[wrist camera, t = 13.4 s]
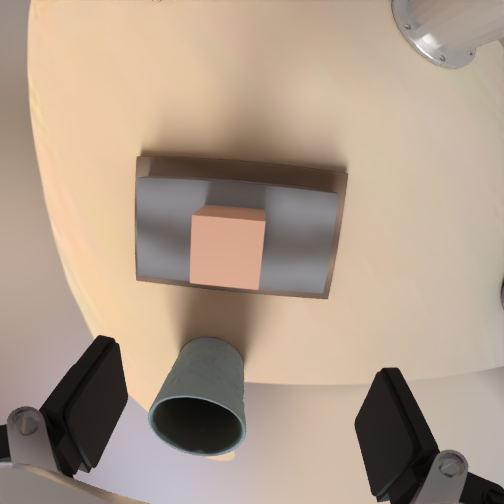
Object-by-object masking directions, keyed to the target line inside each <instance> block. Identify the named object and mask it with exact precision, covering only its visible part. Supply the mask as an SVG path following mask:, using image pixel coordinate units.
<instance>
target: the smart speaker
mask: <svg viewBox="0 0 504 504" xmlns="http://www.w3.org/2000/svg"><path fill="white" fill-rule="evenodd" d="M501 303H502V307H503V310H504V286H503V289H502V295H501Z"/></svg>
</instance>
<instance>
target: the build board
mask: <svg viewBox="0 0 504 504" xmlns="http://www.w3.org/2000/svg"><path fill="white" fill-rule="evenodd" d="M347 179H348V174H347V173H341V172H334V171H327V170H320V169H313V168H305V167H297V166H288V165H279V164H270V163H259V162H248V161H236V160H222V159H205V158H184V157H137V160H136V182H135V261H136V280H137V281H144V282H152V283H160V284H168V285H177V286H186V287H195V288H204V289H213V290H223V291H233V292H243V293H254V294H265V295H277V296H289V297H302V298H316V299H328V296H329V291H330V286H331V281H332V276H333V270H334V265H335V259H336V253H337V248H338V242H339V235H340V229H341V223H342V216H343V209H344V202H345V194H346V187H347ZM204 205H218V206H230V207H242V208H253V209H263V210H265V221H266V222H265V232H264V242H263V251H262V261H261V270H260V280H259V289H258V290H253V289H243V288H232V287H222V286H213V285H203V284H194V283H190V253H191V226H192V215H193V214H194V213H195V212H196V211H198V210H199V209H200V208H201V207H202V206H204Z"/></svg>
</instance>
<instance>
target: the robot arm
mask: <svg viewBox="0 0 504 504" xmlns="http://www.w3.org/2000/svg"><path fill="white" fill-rule="evenodd" d="M392 11H393V15H394V19H395V21H396V23H397V26H398V28H399V29H400V31H401V33H402V34H403V36H404V37H405V38H406V40H407V41H408V42H409V43H410V45H411V46H412V47H413V48H414V49H415V50H416V51H417V52H419V53H420V54H421V55H422V56H424V57H425V58H426V59H428V60H430V61H431V62H433V63H435V64H437V65H439V66H442V67H446V68H454V69H456V68H460V67H463V66H466V65H468V64H469V63H470V62H471V61H472V60H473V59H474V57H475V53H476V48H477V47H480V46H482V45H485V44H487V43H490V42H493V41H495V40H498V39H501V38H504V0H393V2H392ZM127 400H128V392H127V387H126V382H125V377H124V371H123V366H122V359H121V353H120V347H119V344H118V343H116V342H115V339H114V338H111V337H106V336H102V335H99V336H97V338H96V339H95V340H94V341H93V343H92V344H91V345H90V346H89V348H88V349H87V350H86V351H85V352H84V354H83V355H82V356H81V358H80V359H79V360H78V361H77V363H76V364H74V365H73V366H72V367H71V368H70V369H69V371H68V372H67V373H66V375H65V376H64V377H63V379H62V380H61V381H60V383H59V384H58V385H57V386H56V388H55V389H54V390H53V392H52V393H51V395H50V396H49V397H48V398H47V400H46V401H45V403H44V404H43V405H42V407H41V408H40V409H39V410H37V409H35V408H33V407H29V406H28V407H27V406H25V407H20V408H17V409H15V410H14V411H12V412H11V413H10V415H9V416H8V419H7V424H5V425H0V504H149V503H145V502H141V501H138V500H134V499H131V498H128V497H124V496H121V495H118V494H115V493H112V492H108V491H105V490H103V489H100V488H97V487H94V486H91V485H89V484H86V483H83V482H81V481H78V480H77V479H76V477H75V474H76V473H77V471H78V469H79V470H81V471H84V472H86V473H89V472H90V470H91V468H92V467H93V468H95V467H96V466H97V465H98V462H99V460H100V458H101V456H102V454H103V451H104V449H105V447H106V445H107V443H108V441H109V439H110V437H111V434H112V432H113V430H114V428H115V426H116V424H117V422H118V420H119V418H120V415H121V414H122V412H123V410H124V407H125V406H126V403H127ZM355 430H356V434H357V438H358V441H359V445H360V449H361V453H362V456H363V460H364V464H365V468H366V472H367V476H368V480H369V484H370V489H371V493H372V495H373V496H376V498H377V502H383V501H388V500H390V503H391V504H504V489H503V488H502V487H501V486H500V485H498V484H496V483H493V482H491V481H488V480H486V479H484V478H481V477H479V476H477V475H474V474H472V473H470V472H468V463H467V460H466V459H465V457H464V456H463V455H462V454H461V453H459V452H457V451H454V450H444V451H441V452H440V451H439V449H438V445H437V443H436V441H435V439H434V437H433V435H432V433H431V430H430V428H429V426H428V424H427V422H426V420H425V418H424V416H423V414H422V412H421V410H420V408H419V406H418V404H417V402H416V400H415V398H414V397H413V394H412V392H411V391H410V389H409V387H408V385H407V383H406V381H405V379H404V377H403V375H402V374H401V372H400V370H399V369H398V368H383V369H382V370H381V371H380V372H377V374H376V376H375V378H374V380H373V383H372V385H371V387H370V389H369V392H368V394H367V396H366V398H365V400H364V403H363V405H362V407H361V409H360V411H359V413H358V415H357V417H356V419H355Z"/></svg>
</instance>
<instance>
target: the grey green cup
mask: <svg viewBox="0 0 504 504" xmlns="http://www.w3.org/2000/svg"><path fill="white" fill-rule="evenodd" d="M243 395H244V365H243V360H242V358H241V356H240V354H239V352H238V351H237V350H236V349H235V348H234V347H233V346H232V345H230V344H229V343H227V342H225V341H223V340H220V339H217V338H211V337H202V338H197V339H194V340H192V341H190V342H189V343H187V344H186V345H185V346H184V347H183V349H182V350H181V352H180V354H179V356H178V358H177V360H176V361H175V363H174V365H173V367H172V370H171V371H170V373H169V374H168V376H167V378H166V380H165V382H164V384H163V386H162V388H161V390H160V392H159V393H158V395H157V397H156V399H155V400H154V402H153V404H152V406H151V408H150V410H149V415H148V421H149V424H150V427H151V429H152V431H153V432H154V433H155V434H156V436H157V437H158V438H159V439H160V440H162V441H163V442H164V443H166V444H167V445H169V446H171V447H172V448H174V449H177V450H179V451H181V452H185V453H188V454H192V455H198V456H217V455H222V454H225V453H228V452H231V451H232V450H234V449H236V448H237V447H238V446H239V445H240V444H241V443H242V442H243V440H244V439H245V435H246V421H245V414H244V403H243Z"/></svg>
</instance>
